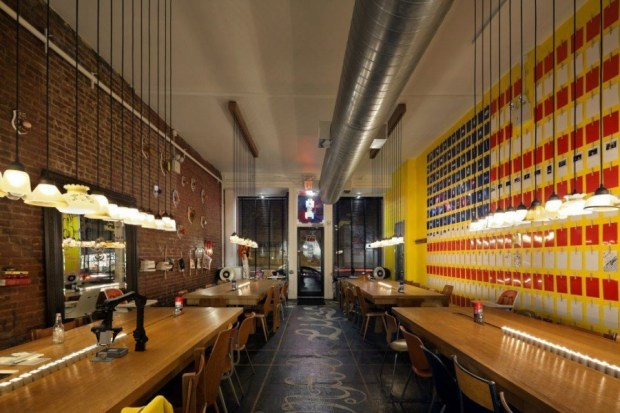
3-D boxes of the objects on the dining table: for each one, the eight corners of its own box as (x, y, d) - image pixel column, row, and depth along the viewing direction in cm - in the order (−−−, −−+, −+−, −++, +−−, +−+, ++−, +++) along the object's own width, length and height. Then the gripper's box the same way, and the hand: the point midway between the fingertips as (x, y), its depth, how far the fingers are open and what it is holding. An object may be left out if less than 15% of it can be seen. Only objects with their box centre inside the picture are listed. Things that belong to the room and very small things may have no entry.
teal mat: (113, 358, 258) (113, 358, 258) (108, 361, 251) (109, 361, 252) (95, 358, 258) (95, 357, 258) (90, 361, 251) (90, 360, 251)
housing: (128, 352, 275) (128, 348, 275) (119, 357, 261) (120, 353, 261) (105, 351, 274) (105, 347, 274) (95, 357, 260) (96, 352, 261)
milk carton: (110, 343, 296) (113, 318, 298) (104, 345, 288) (107, 319, 291) (101, 343, 296) (104, 317, 298) (96, 345, 289) (98, 319, 291)
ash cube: (106, 358, 257) (107, 352, 257) (103, 360, 253) (104, 353, 253) (100, 358, 257) (101, 352, 257) (97, 360, 253) (98, 353, 253)
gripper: (87, 320, 251) (85, 345, 249) (117, 321, 252) (114, 346, 250) (95, 317, 262) (93, 340, 260) (124, 318, 263) (121, 341, 261)
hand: (105, 342), depth 258 cm, fingers open, 9 cm apart
